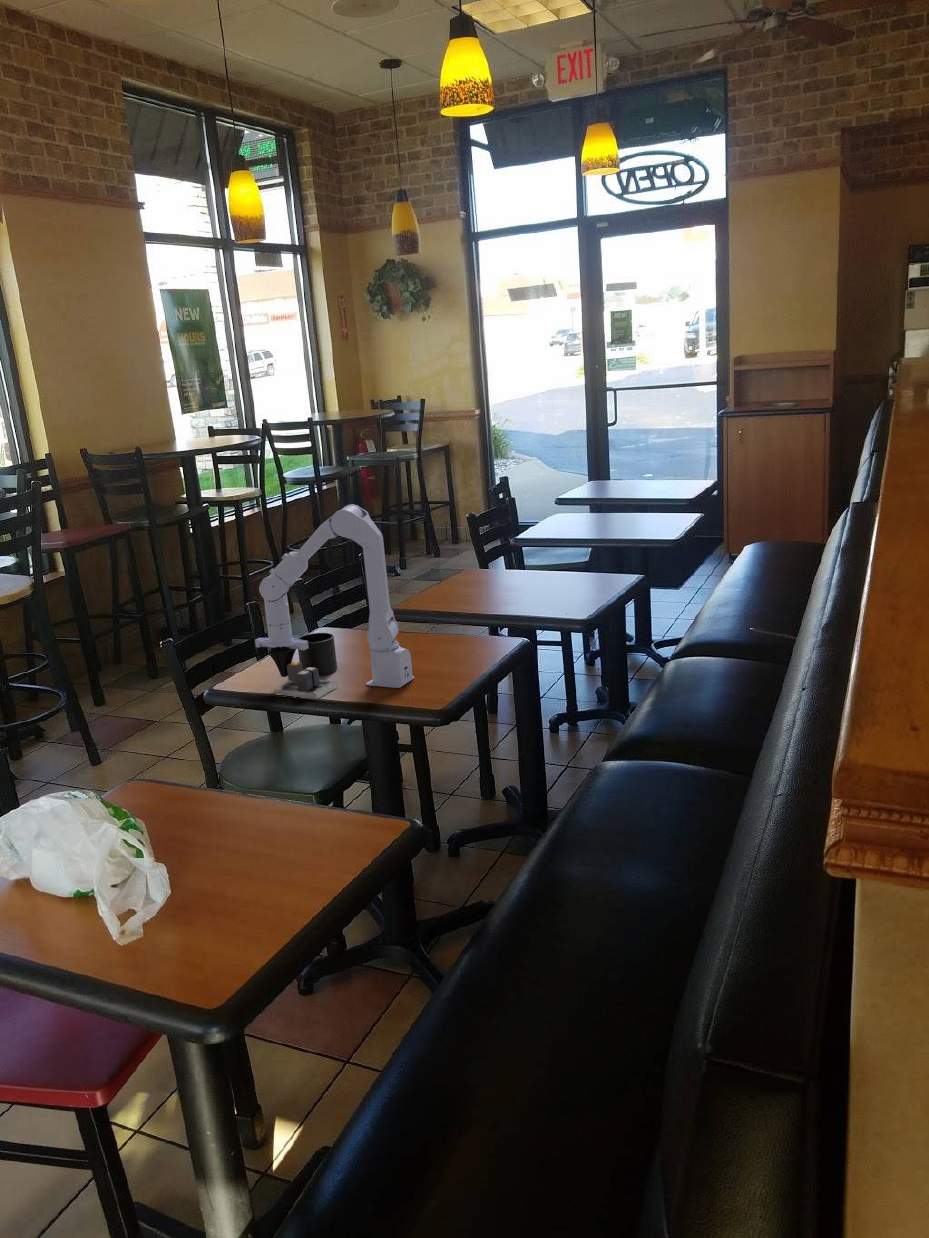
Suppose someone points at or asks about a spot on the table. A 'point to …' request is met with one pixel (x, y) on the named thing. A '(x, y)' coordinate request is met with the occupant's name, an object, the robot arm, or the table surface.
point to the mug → (319, 653)
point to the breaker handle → (293, 670)
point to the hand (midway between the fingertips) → (285, 675)
